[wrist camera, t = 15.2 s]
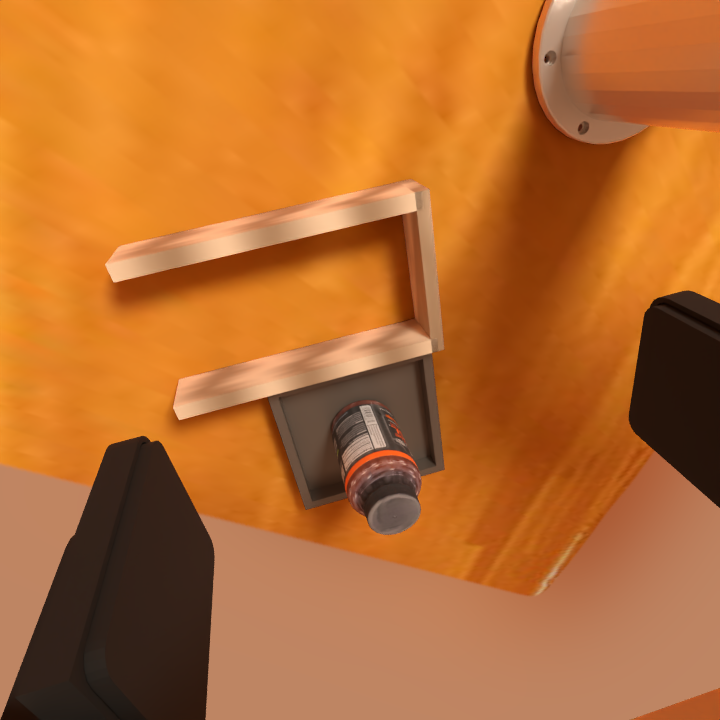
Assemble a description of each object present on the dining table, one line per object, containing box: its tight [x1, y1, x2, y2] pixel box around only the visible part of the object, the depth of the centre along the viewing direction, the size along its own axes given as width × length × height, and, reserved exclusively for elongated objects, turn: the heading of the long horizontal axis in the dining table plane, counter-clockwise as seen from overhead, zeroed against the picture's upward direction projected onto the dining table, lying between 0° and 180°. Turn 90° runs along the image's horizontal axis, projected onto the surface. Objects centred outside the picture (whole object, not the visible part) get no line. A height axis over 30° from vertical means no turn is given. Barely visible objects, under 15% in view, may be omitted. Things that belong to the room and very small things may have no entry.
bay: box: [105, 179, 444, 420], centre depth 35 cm, size 21×12×4 cm, turn 100°
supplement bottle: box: [331, 400, 421, 535], centre depth 39 cm, size 6×6×11 cm
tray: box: [268, 353, 445, 510], centre depth 44 cm, size 14×14×2 cm
